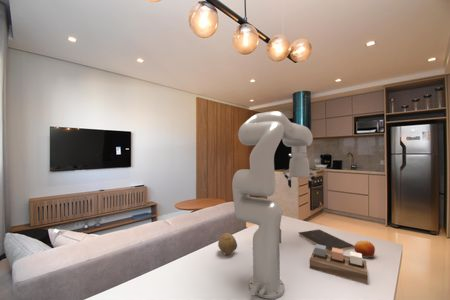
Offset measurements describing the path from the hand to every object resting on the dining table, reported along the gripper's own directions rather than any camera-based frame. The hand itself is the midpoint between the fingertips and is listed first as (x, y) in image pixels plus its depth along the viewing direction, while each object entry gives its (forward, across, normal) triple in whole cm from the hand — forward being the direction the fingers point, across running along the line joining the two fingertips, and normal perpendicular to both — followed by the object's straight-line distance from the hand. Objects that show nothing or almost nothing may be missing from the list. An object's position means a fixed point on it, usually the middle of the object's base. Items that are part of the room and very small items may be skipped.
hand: (299, 187), depth 109 cm
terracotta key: (+25, +16, -19) cm, 35 cm away
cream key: (+25, +22, -20) cm, 39 cm away
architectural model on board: (+31, -15, -6) cm, 34 cm away
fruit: (+30, +29, -2) cm, 42 cm away
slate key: (+25, +9, -18) cm, 33 cm away
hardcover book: (+31, +12, +8) cm, 34 cm away
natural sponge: (+30, -32, -26) cm, 51 cm away
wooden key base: (+30, +16, -19) cm, 39 cm away
